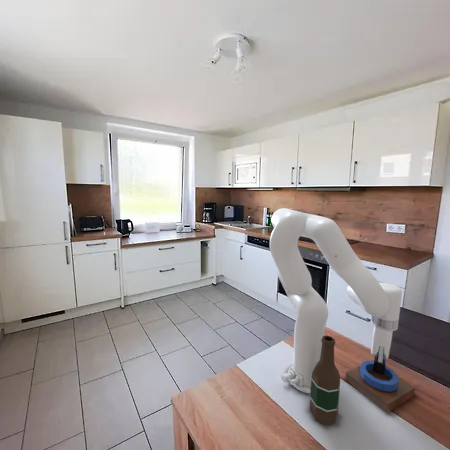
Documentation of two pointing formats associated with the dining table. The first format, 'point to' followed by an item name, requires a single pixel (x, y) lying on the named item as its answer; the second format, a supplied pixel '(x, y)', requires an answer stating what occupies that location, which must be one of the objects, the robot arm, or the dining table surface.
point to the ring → (378, 383)
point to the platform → (377, 396)
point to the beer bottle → (325, 385)
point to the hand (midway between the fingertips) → (378, 369)
